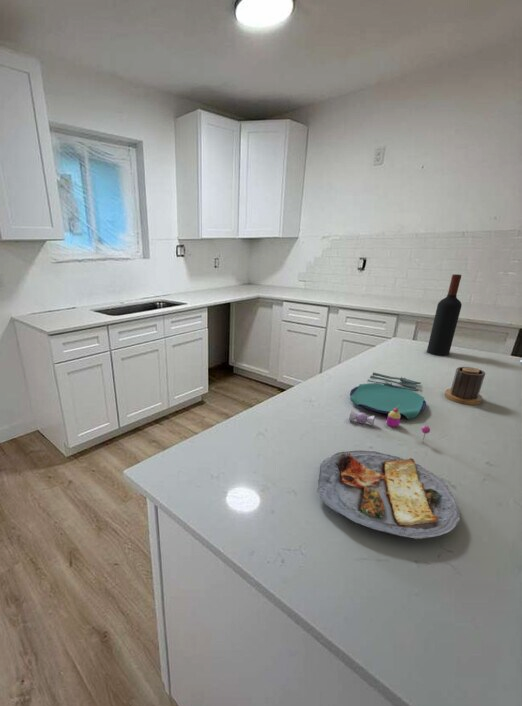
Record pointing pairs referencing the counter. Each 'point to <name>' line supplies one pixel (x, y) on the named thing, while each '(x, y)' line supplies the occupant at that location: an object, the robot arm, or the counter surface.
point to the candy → (391, 420)
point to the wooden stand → (461, 400)
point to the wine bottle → (445, 321)
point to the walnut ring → (467, 384)
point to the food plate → (387, 494)
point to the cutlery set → (389, 396)
